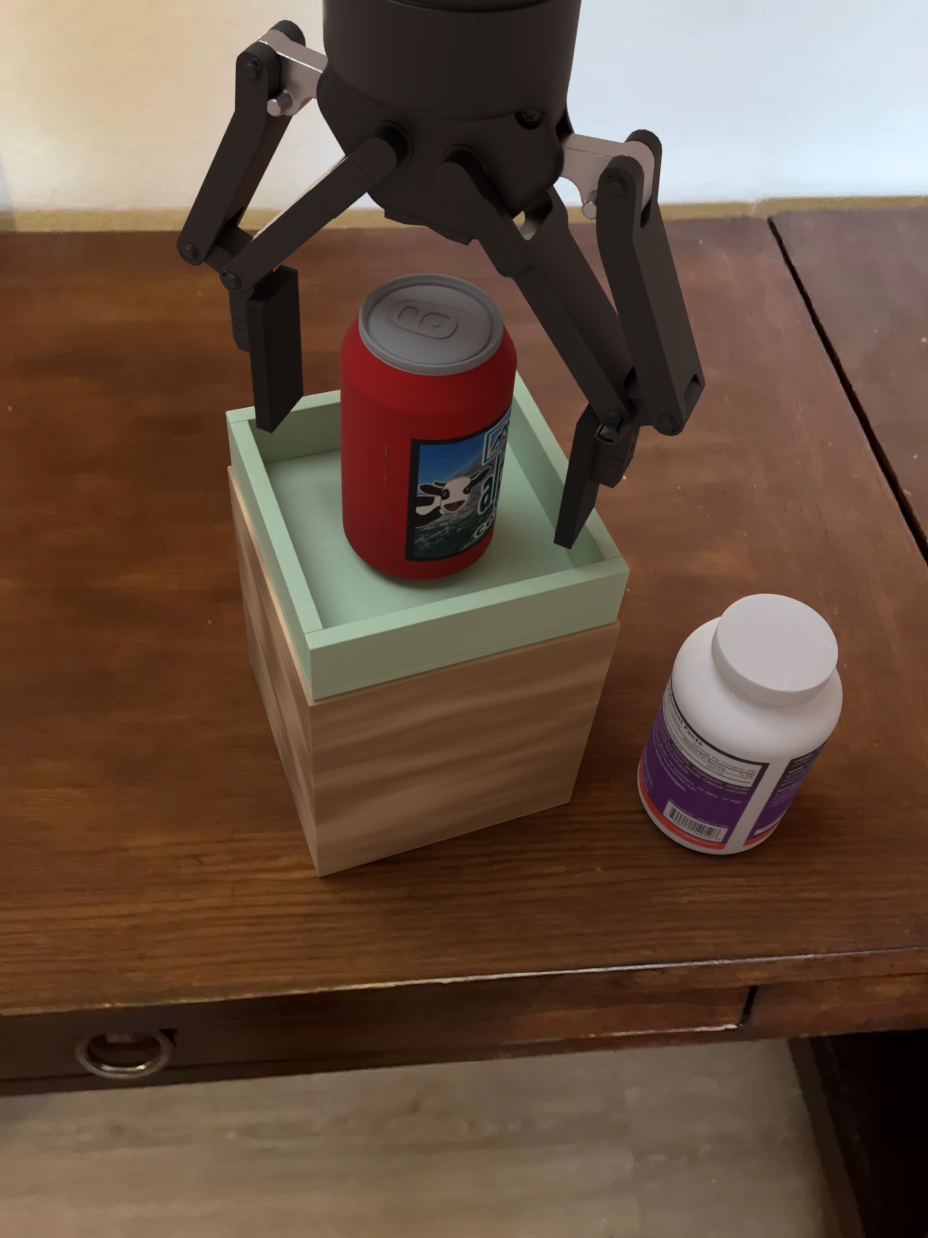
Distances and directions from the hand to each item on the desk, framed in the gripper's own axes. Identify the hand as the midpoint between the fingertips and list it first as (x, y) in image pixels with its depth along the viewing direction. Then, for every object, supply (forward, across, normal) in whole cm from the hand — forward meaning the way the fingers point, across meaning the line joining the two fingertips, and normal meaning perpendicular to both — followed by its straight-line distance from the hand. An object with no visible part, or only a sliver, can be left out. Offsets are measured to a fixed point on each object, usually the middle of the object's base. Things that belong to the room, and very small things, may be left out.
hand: (423, 466), depth 50 cm
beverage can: (+5, 0, 0) cm, 5 cm away
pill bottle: (+21, -16, -4) cm, 27 cm away
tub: (+5, 0, 0) cm, 5 cm away
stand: (+21, 0, 0) cm, 21 cm away
